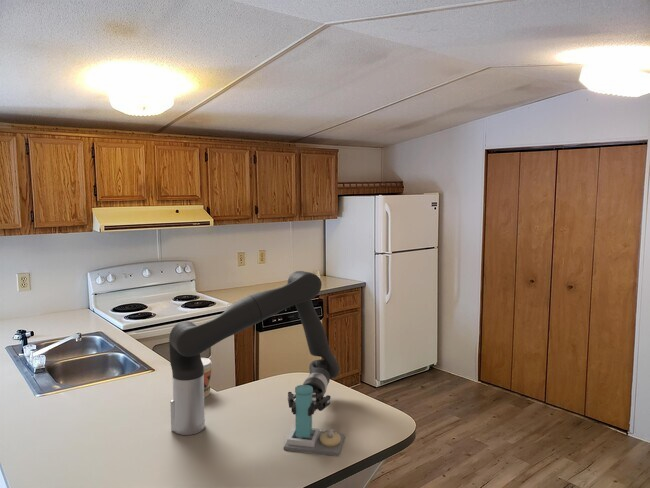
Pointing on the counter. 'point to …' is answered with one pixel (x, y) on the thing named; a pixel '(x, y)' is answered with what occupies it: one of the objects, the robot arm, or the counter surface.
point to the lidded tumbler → (303, 410)
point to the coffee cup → (207, 375)
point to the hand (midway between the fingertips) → (301, 412)
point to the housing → (316, 442)
